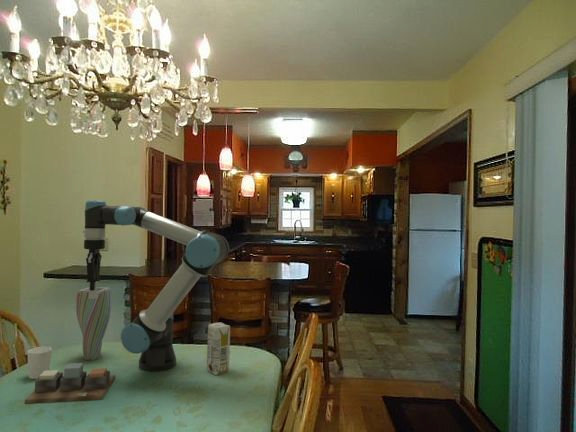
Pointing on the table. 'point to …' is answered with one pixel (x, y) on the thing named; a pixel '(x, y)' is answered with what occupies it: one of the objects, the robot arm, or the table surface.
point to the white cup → (38, 361)
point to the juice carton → (218, 348)
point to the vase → (93, 319)
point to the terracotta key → (98, 372)
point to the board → (70, 388)
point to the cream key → (49, 374)
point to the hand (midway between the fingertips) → (92, 298)
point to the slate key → (73, 371)
